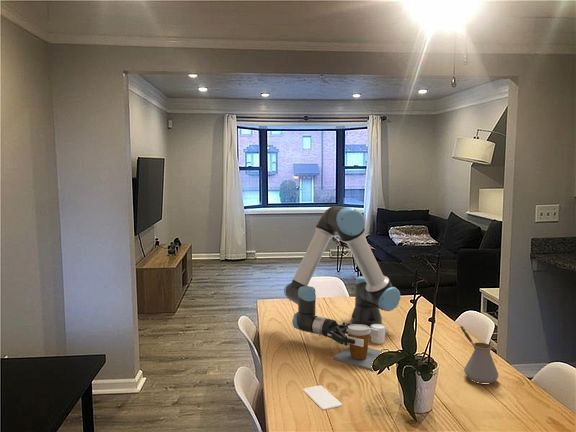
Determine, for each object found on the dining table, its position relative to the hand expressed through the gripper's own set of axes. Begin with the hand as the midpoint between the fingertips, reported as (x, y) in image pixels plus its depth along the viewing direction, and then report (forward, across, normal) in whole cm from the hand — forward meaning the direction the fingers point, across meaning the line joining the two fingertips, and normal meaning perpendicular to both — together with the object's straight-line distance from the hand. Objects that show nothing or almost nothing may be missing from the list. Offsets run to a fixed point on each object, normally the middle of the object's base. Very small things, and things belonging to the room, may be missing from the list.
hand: (371, 338), depth 182 cm
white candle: (-6, -20, -9) cm, 23 cm away
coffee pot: (+36, -12, -9) cm, 39 cm away
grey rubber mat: (-3, 0, -9) cm, 9 cm away
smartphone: (+1, +38, -9) cm, 39 cm away
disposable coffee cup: (-4, +3, -8) cm, 9 cm away
